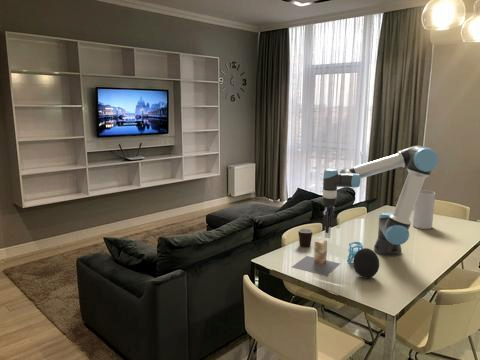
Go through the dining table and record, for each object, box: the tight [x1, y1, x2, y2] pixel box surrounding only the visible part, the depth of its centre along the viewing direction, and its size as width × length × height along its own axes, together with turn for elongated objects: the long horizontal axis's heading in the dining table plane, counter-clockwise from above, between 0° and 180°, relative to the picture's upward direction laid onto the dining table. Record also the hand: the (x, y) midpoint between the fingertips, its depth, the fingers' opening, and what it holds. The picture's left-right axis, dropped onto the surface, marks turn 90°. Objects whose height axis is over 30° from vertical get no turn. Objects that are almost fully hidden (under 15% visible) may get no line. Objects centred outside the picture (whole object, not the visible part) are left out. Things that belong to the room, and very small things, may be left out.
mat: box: [291, 255, 341, 277], centre depth 209 cm, size 20×19×1 cm
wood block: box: [313, 238, 328, 264], centre depth 212 cm, size 5×5×12 cm
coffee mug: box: [297, 228, 313, 248], centre depth 239 cm, size 12×9×10 cm
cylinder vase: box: [412, 189, 436, 230], centre depth 272 cm, size 12×12×25 cm
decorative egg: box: [352, 247, 380, 279], centre depth 194 cm, size 12×12×15 cm
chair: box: [346, 241, 364, 265], centre depth 212 cm, size 8×8×12 cm
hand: (327, 237), depth 220 cm, fingers closed
